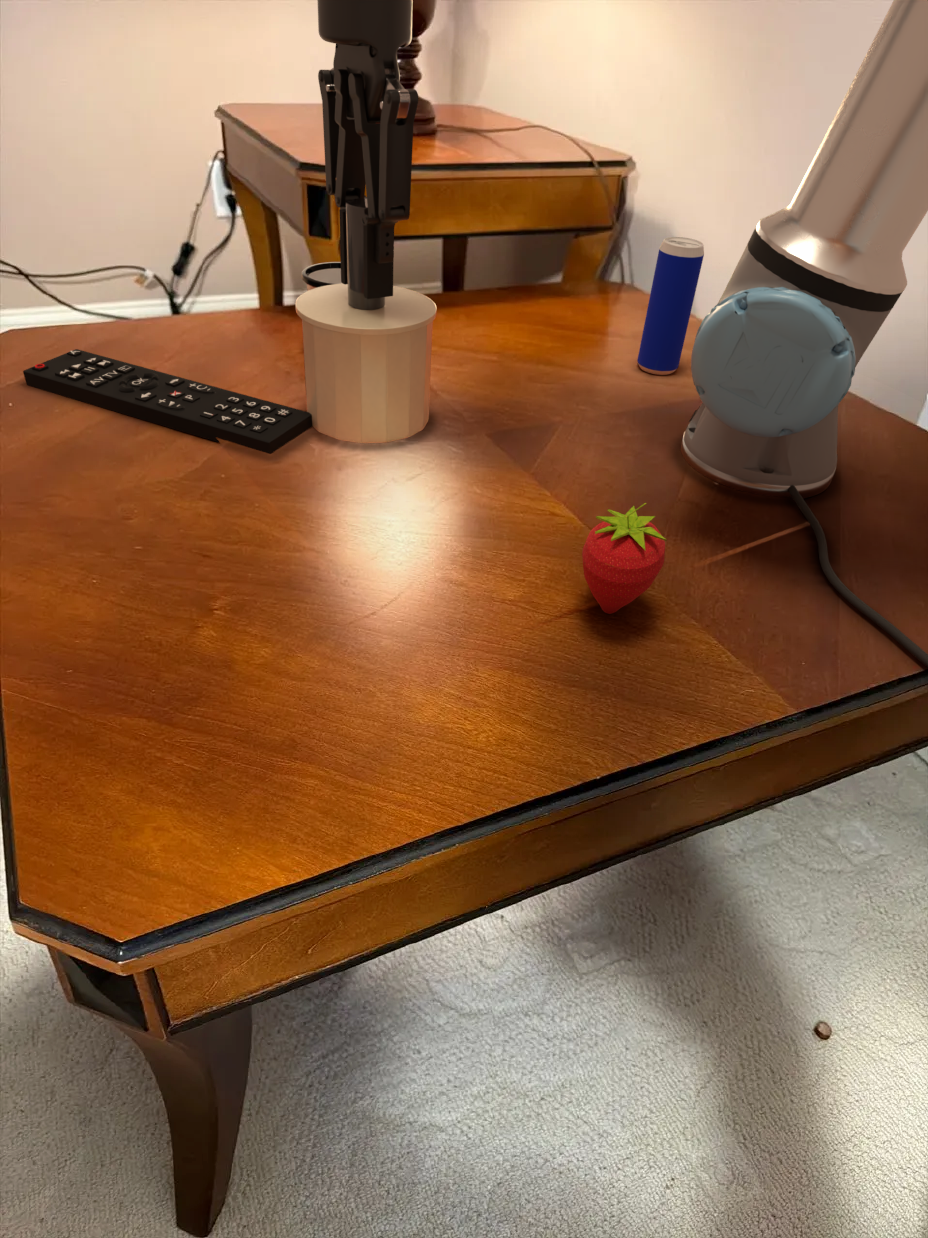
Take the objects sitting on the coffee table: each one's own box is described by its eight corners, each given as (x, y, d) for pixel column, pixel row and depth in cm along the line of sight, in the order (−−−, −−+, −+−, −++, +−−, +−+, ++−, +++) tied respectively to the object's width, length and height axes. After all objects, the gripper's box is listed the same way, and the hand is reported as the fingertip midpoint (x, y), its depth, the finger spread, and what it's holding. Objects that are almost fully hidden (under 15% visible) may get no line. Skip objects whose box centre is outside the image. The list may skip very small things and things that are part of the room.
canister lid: (462, 329, 81) (469, 215, 74) (334, 350, 74) (330, 227, 68) (393, 288, 89) (394, 182, 83) (273, 303, 83) (265, 190, 77)
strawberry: (659, 597, 67) (689, 486, 60) (634, 651, 61) (664, 535, 55) (589, 575, 68) (610, 466, 62) (558, 626, 63) (578, 511, 57)
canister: (450, 433, 87) (456, 322, 80) (341, 457, 82) (337, 341, 75) (391, 388, 95) (392, 284, 88) (288, 408, 90) (280, 298, 83)
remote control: (78, 361, 96) (74, 344, 94) (315, 427, 86) (314, 409, 85) (24, 384, 90) (19, 366, 89) (270, 457, 80) (268, 438, 79)
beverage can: (683, 367, 107) (712, 242, 97) (668, 379, 103) (697, 250, 94) (645, 357, 109) (670, 233, 99) (629, 368, 105) (654, 241, 96)
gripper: (276, -27, 69) (293, 267, 84) (374, -13, 59) (374, 322, 73) (357, -21, 73) (360, 260, 87) (464, -7, 62) (447, 311, 77)
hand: (366, 288), depth 80 cm, fingers open, 4 cm apart
